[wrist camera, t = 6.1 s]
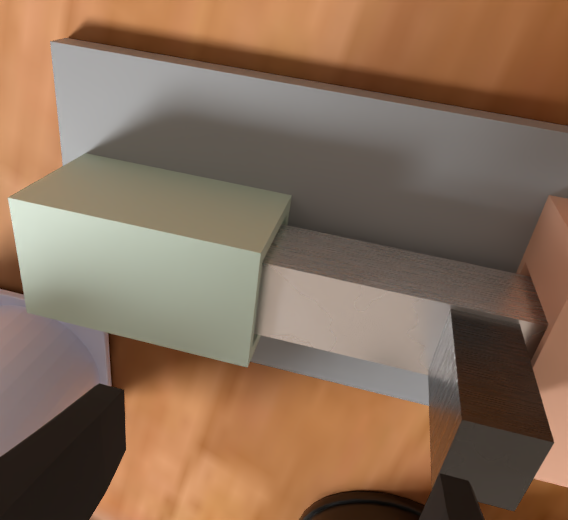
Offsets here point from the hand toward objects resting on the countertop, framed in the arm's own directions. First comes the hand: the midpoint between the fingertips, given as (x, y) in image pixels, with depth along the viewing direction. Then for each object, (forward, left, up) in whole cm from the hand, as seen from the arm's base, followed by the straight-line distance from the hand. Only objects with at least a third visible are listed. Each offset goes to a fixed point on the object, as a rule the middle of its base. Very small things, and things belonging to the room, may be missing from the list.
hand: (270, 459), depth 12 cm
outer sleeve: (-6, 0, -9) cm, 11 cm away
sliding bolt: (+2, 0, -9) cm, 10 cm away
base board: (0, 0, -10) cm, 10 cm away
